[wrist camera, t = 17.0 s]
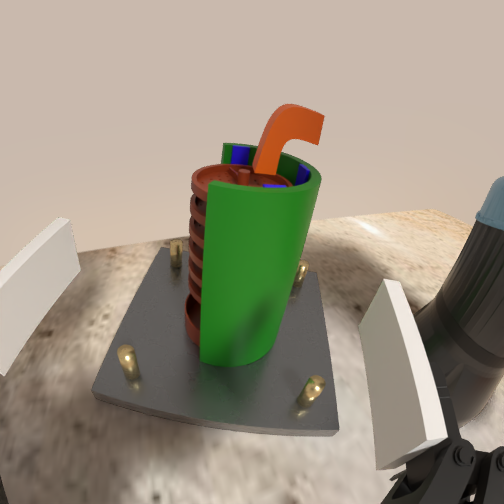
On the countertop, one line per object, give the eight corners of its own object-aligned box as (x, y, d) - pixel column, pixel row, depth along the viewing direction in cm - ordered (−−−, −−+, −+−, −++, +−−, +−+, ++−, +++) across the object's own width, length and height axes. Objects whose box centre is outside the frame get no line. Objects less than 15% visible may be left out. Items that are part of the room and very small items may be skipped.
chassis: (313, 281, 38) (323, 253, 35) (332, 436, 20) (355, 414, 18) (161, 256, 37) (160, 226, 34) (95, 398, 19) (80, 370, 17)
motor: (180, 289, 30) (193, 88, 19) (260, 286, 33) (300, 102, 22) (191, 371, 22) (208, 101, 11) (291, 359, 25) (373, 129, 14)
